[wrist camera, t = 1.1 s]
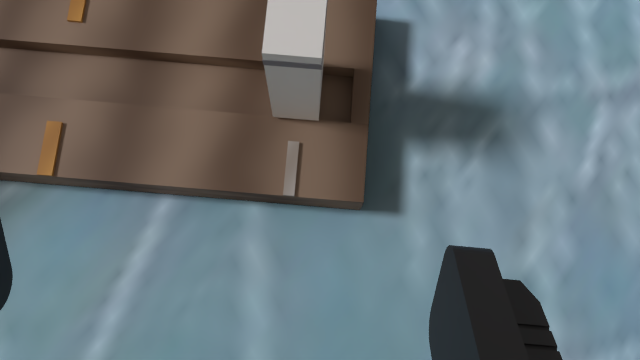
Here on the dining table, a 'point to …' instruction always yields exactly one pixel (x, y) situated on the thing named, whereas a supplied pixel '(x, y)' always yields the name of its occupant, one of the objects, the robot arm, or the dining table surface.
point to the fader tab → (294, 56)
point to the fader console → (178, 101)
